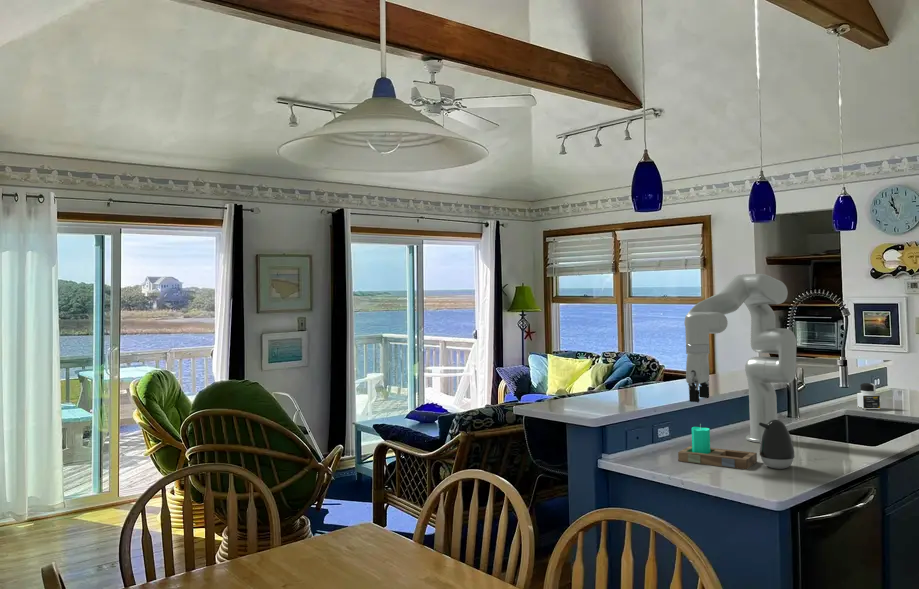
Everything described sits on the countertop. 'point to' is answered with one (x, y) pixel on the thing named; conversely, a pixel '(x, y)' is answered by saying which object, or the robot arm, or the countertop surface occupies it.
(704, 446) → the candle
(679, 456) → the socket block
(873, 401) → the medicine bottle
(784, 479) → the countertop surface
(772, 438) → the pump dispenser
